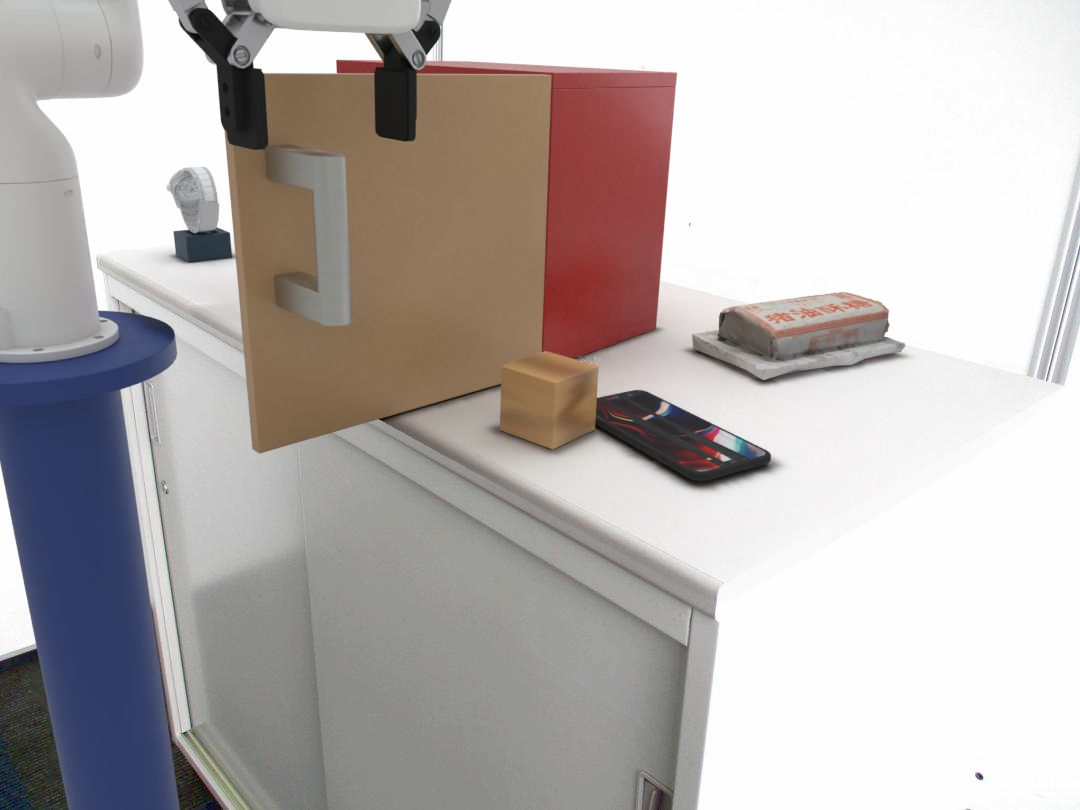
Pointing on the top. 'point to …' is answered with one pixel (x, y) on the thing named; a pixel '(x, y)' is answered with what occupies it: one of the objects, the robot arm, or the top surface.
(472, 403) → the top surface
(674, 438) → the smartphone
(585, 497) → the top surface
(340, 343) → the cabinet door
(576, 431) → the oak block
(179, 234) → the watch
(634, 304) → the cabinet
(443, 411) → the top surface
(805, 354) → the packaged product
